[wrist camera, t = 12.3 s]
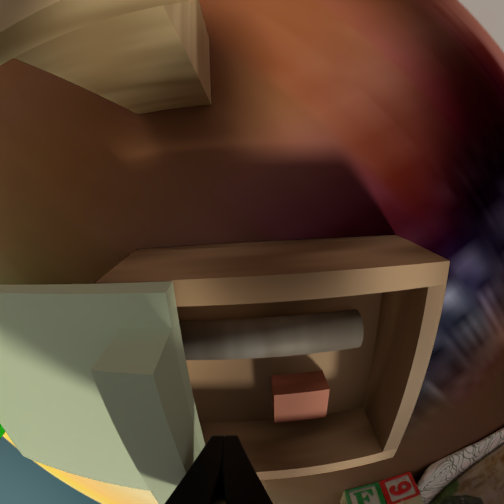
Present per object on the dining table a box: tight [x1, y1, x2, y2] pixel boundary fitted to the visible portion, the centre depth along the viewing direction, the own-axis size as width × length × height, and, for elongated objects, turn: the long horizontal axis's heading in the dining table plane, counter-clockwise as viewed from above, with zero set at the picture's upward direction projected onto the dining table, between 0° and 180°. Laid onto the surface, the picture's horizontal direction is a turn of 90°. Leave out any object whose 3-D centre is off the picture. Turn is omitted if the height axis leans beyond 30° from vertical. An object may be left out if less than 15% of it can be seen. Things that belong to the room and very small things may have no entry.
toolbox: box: [95, 235, 450, 480], centre depth 11 cm, size 17×10×4 cm, turn 93°
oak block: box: [0, 0, 211, 114], centre depth 6 cm, size 4×3×9 cm
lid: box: [0, 281, 205, 504], centre depth 8 cm, size 11×10×3 cm
